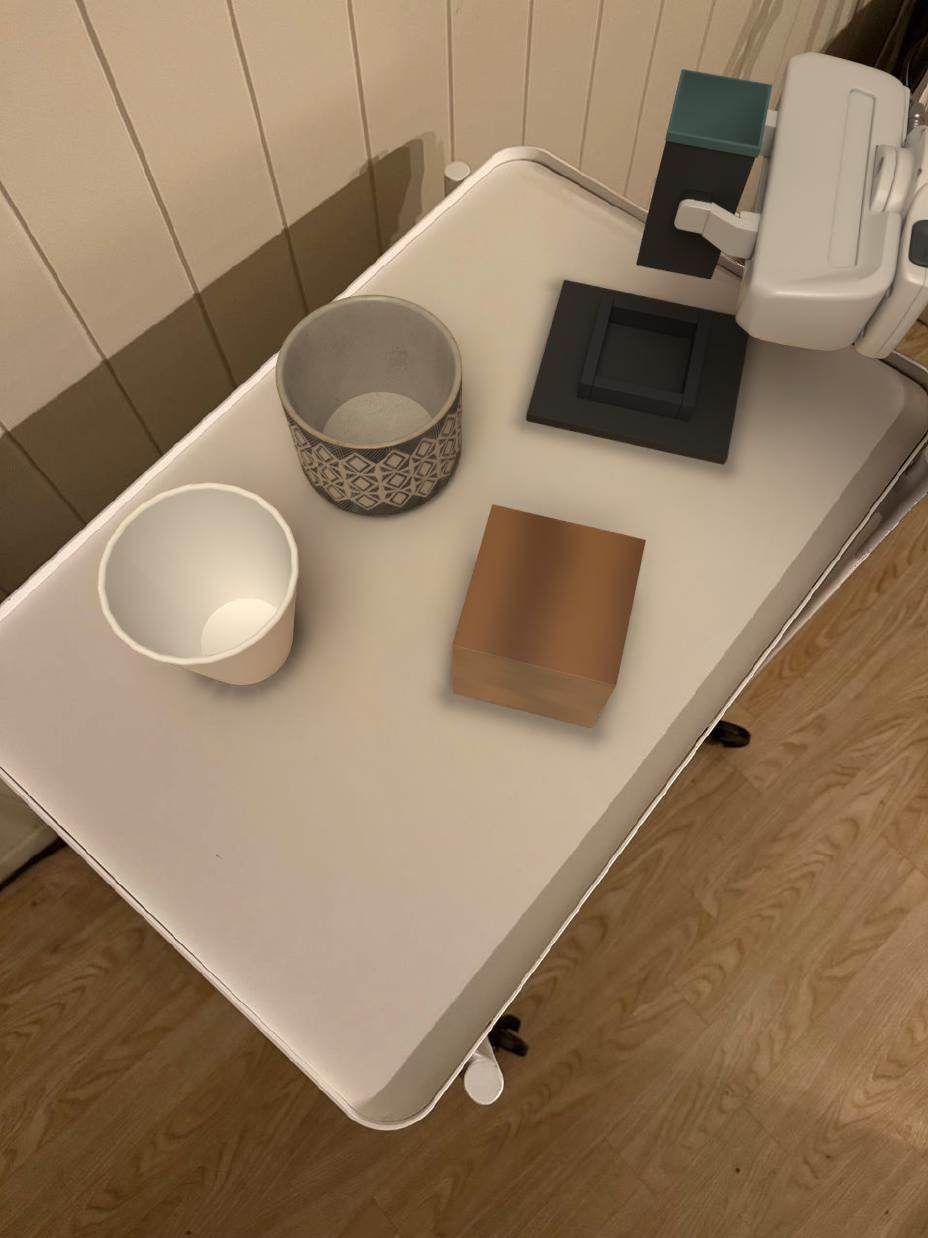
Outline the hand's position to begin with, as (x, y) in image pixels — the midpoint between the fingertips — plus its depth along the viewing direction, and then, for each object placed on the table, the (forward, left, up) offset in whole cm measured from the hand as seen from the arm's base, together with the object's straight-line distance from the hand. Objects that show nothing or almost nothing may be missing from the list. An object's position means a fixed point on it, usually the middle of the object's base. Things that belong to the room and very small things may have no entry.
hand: (686, 169), depth 53 cm
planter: (+21, -4, -20) cm, 29 cm away
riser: (+19, +16, -20) cm, 32 cm away
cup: (+37, +5, -20) cm, 42 cm away
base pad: (-1, 0, -20) cm, 20 cm away
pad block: (-1, +1, -6) cm, 6 cm away
